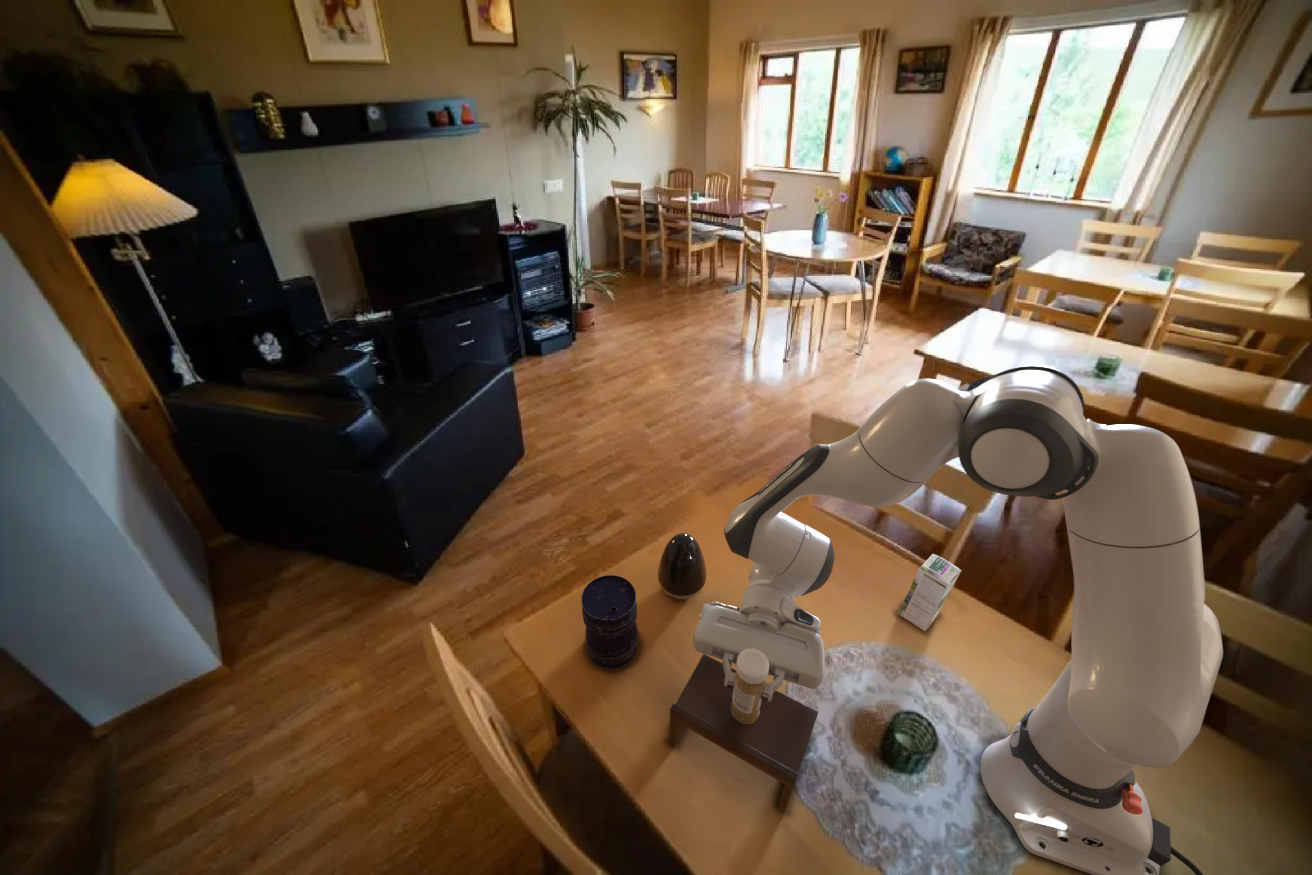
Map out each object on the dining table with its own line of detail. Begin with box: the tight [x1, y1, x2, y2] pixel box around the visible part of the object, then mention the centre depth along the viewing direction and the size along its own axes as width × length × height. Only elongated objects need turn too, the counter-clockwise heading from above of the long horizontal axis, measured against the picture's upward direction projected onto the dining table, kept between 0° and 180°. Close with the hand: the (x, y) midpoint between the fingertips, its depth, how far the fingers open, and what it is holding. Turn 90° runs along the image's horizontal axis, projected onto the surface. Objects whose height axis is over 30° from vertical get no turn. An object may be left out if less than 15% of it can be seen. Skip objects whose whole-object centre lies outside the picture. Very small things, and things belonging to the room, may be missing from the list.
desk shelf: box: [669, 653, 819, 812], centre depth 85 cm, size 20×12×11 cm, turn 60°
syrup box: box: [898, 553, 962, 632], centre depth 104 cm, size 6×6×14 cm
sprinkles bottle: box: [731, 649, 769, 724], centre depth 79 cm, size 5×5×13 cm
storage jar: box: [581, 574, 639, 670], centre depth 98 cm, size 10×10×15 cm
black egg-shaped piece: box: [657, 532, 707, 600], centre depth 110 cm, size 10×10×15 cm
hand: (747, 692), depth 78 cm, fingers closed on sprinkles bottle, 4 cm apart
